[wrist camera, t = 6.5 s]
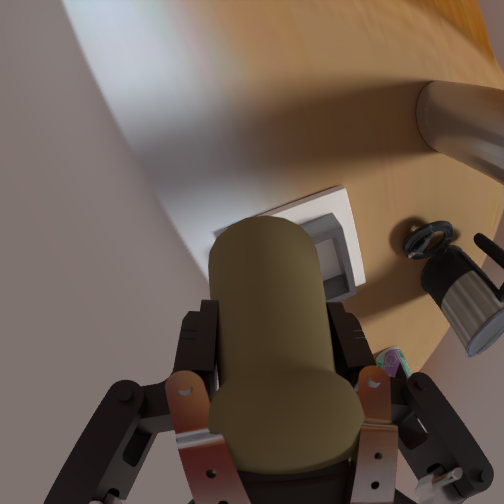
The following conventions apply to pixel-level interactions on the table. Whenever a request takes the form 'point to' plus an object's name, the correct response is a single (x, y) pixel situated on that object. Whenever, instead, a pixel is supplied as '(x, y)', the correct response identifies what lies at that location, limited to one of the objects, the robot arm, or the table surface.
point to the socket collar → (345, 282)
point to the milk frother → (461, 285)
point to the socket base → (329, 265)
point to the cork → (277, 353)
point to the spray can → (394, 365)
